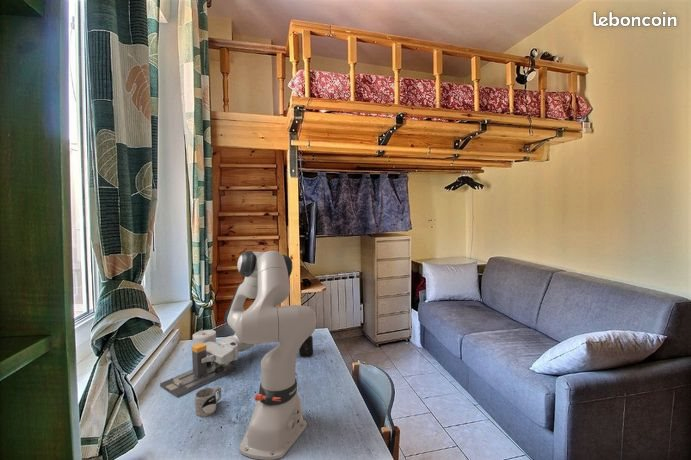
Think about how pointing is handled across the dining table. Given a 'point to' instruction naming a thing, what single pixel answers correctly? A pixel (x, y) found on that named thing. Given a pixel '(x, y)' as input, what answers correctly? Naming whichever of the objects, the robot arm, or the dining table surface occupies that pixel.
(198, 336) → the toilet tissue
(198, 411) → the mug
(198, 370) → the breaker handle
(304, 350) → the supplement bottle
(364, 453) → the dining table surface
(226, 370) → the breaker panel
